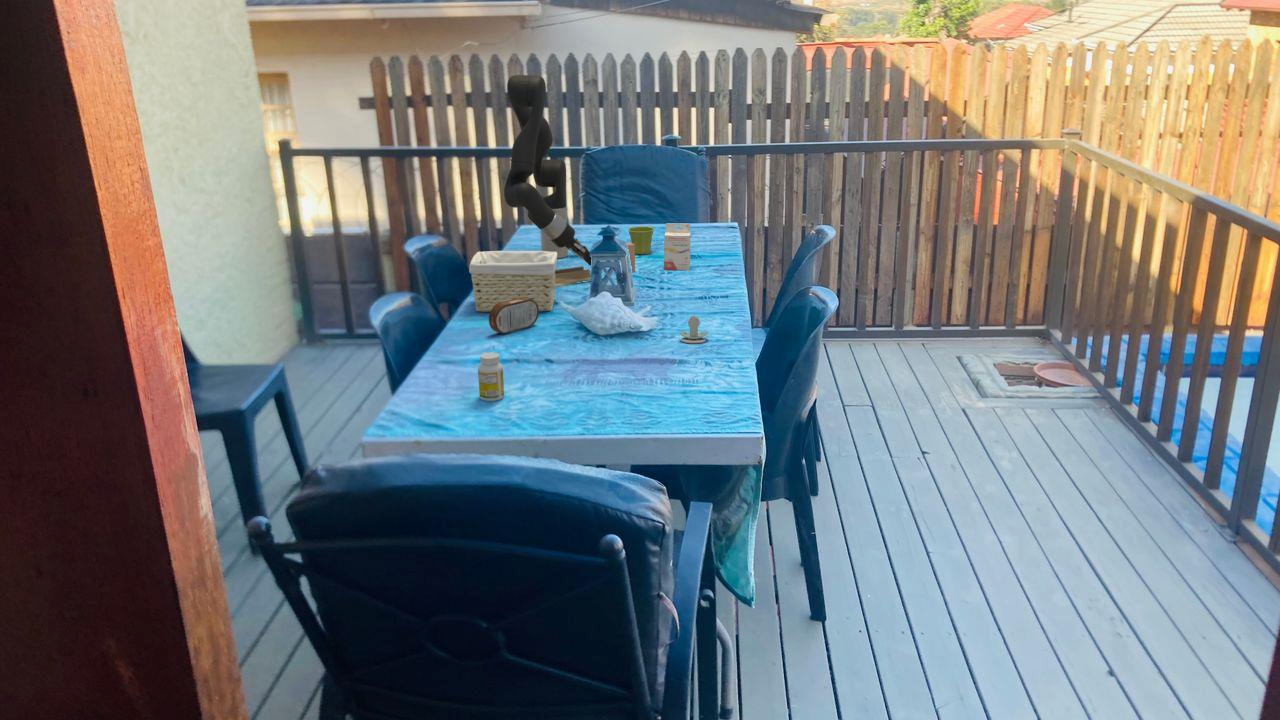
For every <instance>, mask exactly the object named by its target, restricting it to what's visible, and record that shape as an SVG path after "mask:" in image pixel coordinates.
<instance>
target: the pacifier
mask: <svg viewBox="0 0 1280 720" xmlns="http://www.w3.org/2000/svg"><path fill="white" fill-rule="evenodd" d="M700 323H701V321H700V319H699V317H698V316H696V315H692V316H690V317H689V318H688V320H687V324H688V325H687V326H688V327H689V331H685V330H681V329H679V331H678V332H679V334H680V335H681V336H682V337H683V338H680V341H681V342H682V343H686V344H702V343H705V342H707V339H705V338H704V337H706V335H707V334H709V330H705V331H701V332H699V327H700Z"/></svg>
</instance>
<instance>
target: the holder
mask: <svg viewBox="0 0 1280 720" xmlns="http://www.w3.org/2000/svg"><path fill="white" fill-rule="evenodd" d="M590 278H591V269H588V268H587V269H584V266H575V267H574V266H573V267H566V268H561V269H555V286H554V288H558V287H563V286H564V285H565V286H570V285H569V284H572V283H577V282H583V281H588V280H590ZM572 285H573V284H572ZM565 286H564V287H565Z"/></svg>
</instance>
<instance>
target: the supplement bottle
mask: <svg viewBox="0 0 1280 720" xmlns="http://www.w3.org/2000/svg"><path fill="white" fill-rule="evenodd" d="M479 358H480V364H479V365H478V366H477V375H478V377H477V378H478V391H479V399H481V400H482V401H483V402H484V401H485V402H496V401H500V400H502V399H503V398H504V397H505V388H504V387H505V386H504V385H505V383H504V367H503V365H502V364H501V363H500V354H498V353H497V352H486V353H482V354H481V355H480V356H479Z"/></svg>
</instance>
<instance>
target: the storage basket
mask: <svg viewBox="0 0 1280 720" xmlns="http://www.w3.org/2000/svg"><path fill="white" fill-rule="evenodd" d="M469 263H470V264H469V267H468V268H469V269H468V270H469V271H468V272H469V274H470V275H471V282H472V288H473V289H472V291H473V298H474V303H475V311H476V312H483V313H484V312H485V313H486V312H491V310H492V308H493V307H494V306H495V305H496V304H497V303H499V302H502V301H507V300H512V299H516V298H520V297H528V298H530V299H532V300H534V301H535V302H536V303H537V304H538V308H539V312H549V311H550V312H551V311H552V310H553V307H554V303H555V293H556V292H555V291H556V290H555V287H554V286H555V270H556V267H557V265H558V258H557V252H548V251H542V250H491V251H490V250H489V251H488V250H487V251H477V252H476V253H475V254H474V255H473V257H472V258H471V261H470V262H469Z"/></svg>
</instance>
